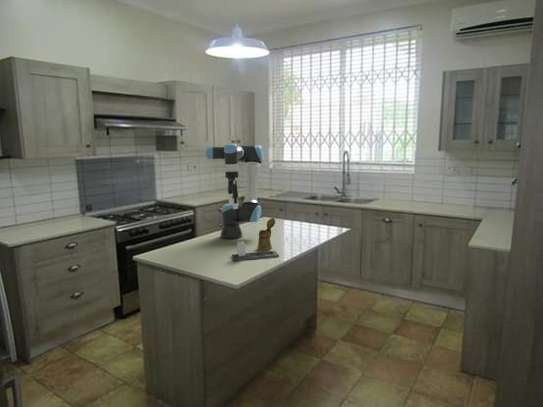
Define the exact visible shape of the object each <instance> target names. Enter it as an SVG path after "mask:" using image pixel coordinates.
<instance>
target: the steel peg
mask: <svg viewBox="0 0 543 407" xmlns="http://www.w3.org/2000/svg"><path fill="white" fill-rule="evenodd" d="M236 251H237V252H236V254H237V257H238V258H240V257H246V256H245V253H246V242H245V241H243V240H242V241H236Z"/></svg>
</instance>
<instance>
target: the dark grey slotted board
mask: <svg viewBox="0 0 543 407" xmlns="http://www.w3.org/2000/svg"><path fill="white" fill-rule="evenodd" d="M279 257H280V254H279V253H278V252H277V251H276V250H264V251H257V252H245V257H240V258H238V257H237V253H235V254H234V253H233V254H231V258H232V260H233V261H234V262H239V261H240V262H241V261H250V260H259V259H271V258H272V259H273V258H279Z"/></svg>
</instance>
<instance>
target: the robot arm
mask: <svg viewBox="0 0 543 407" xmlns="http://www.w3.org/2000/svg"><path fill="white" fill-rule="evenodd" d="M205 155H206V158H207V159H208V160H224V166H223V167H224V170H225V178H226V179H227V193H228V203H226V204H223V205H222V207H221V217H222V227H221V230H220V238H221V239H225V240H235V239H236V240H237V239H240V238H242V237H243V231H242V229H241V226H240V223H250V224H252V223H257V222H259V221H260V220H261V216H262V207H261V205H260V203H259V202H258V191H259V190H258V188H259V187H258V186H259V171H260V170H259V169H260V167H261V166H262V163H264V162H265V153H264V148H263V147H262V146H261V145H256V144H254V145H237V144H236V143H230V144H229V143H227V144H224V146H209V147H206V150H205ZM239 163H244V166H246V169H245V170H246V171H245V172H246V173H245V185H244V187H245V188H244V189H245V190H244V200H243V201H241V205H240V204H239V201H238V198H239V191H238V184H237V180H236V179H237V178H238V177H239V171H238V170H239Z"/></svg>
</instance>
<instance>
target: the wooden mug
mask: <svg viewBox="0 0 543 407" xmlns="http://www.w3.org/2000/svg"><path fill="white" fill-rule="evenodd" d="M275 224H276V219H275V218H274V217H272V218H270V219H268V220H267V222H266V229H262V230H259V232H258V242H257V248H256V249H257V250H259V251H271V250H272V249H273V247H272V243H271V237H272V228H273V227H274V226H275Z"/></svg>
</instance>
